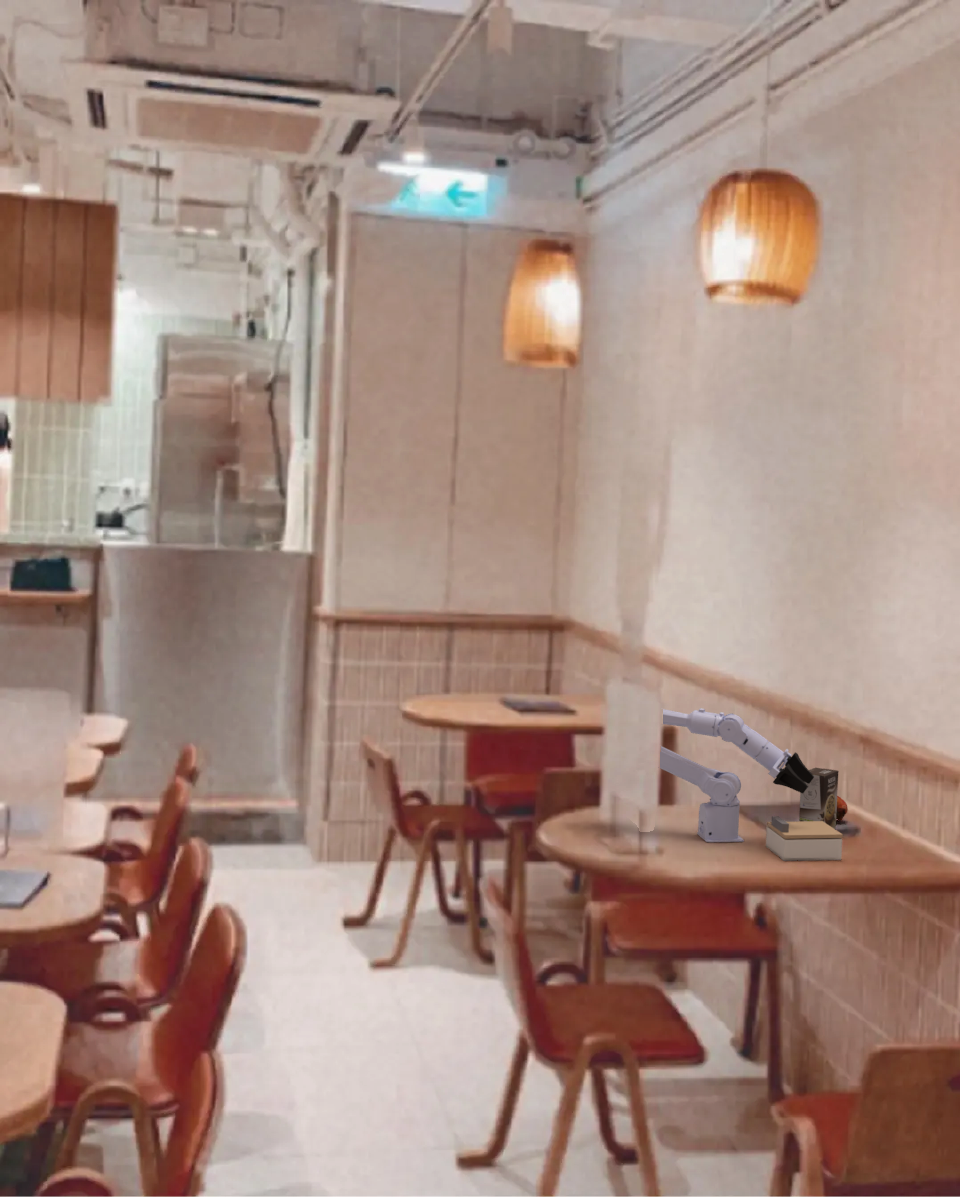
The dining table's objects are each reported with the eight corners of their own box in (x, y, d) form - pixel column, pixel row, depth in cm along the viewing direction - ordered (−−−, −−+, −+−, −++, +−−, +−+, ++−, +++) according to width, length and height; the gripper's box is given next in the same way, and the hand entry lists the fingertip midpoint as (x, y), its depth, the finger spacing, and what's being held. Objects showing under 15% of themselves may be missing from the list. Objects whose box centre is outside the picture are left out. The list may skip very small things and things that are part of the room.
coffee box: (821, 840, 336) (824, 776, 335) (797, 835, 340) (800, 772, 339) (836, 833, 344) (839, 770, 342) (812, 828, 347) (815, 766, 346)
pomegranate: (849, 833, 353) (844, 802, 360) (850, 815, 348) (845, 784, 355) (820, 834, 354) (815, 803, 361) (820, 816, 349) (816, 786, 356)
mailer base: (783, 860, 318) (784, 839, 317) (765, 846, 330) (766, 826, 329) (841, 859, 320) (842, 838, 319) (821, 845, 332) (822, 825, 331)
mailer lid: (784, 838, 317) (785, 826, 317) (766, 825, 329) (767, 813, 329) (842, 837, 319) (843, 825, 319) (822, 824, 331) (822, 812, 331)
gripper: (764, 746, 323) (812, 781, 320) (777, 729, 336) (823, 763, 333) (747, 768, 326) (795, 804, 323) (761, 751, 339) (807, 785, 336)
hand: (808, 785), depth 328 cm, fingers open, 7 cm apart
